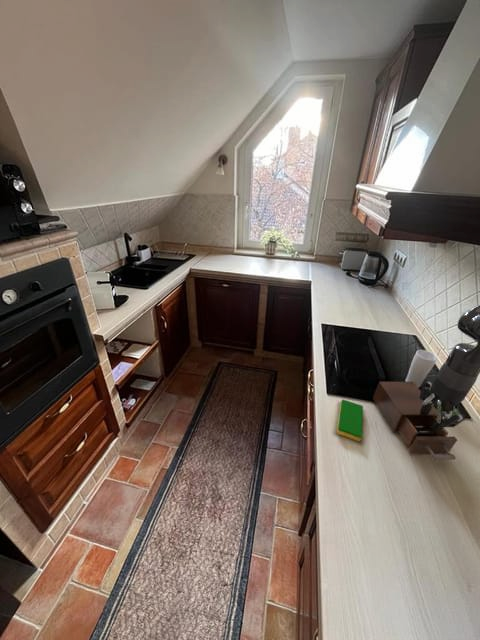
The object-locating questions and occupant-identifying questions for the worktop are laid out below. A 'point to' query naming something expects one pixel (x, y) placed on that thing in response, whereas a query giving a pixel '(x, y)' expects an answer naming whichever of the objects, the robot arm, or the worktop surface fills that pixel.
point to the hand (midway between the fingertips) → (429, 421)
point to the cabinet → (399, 402)
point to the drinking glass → (420, 367)
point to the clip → (424, 431)
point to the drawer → (426, 438)
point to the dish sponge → (350, 420)
